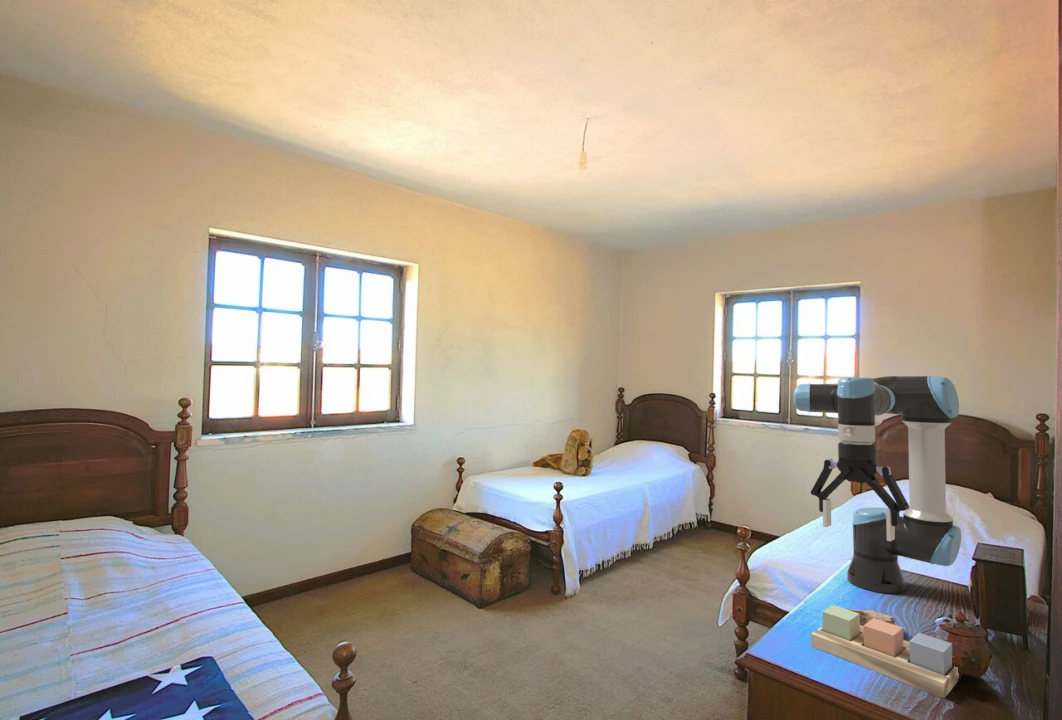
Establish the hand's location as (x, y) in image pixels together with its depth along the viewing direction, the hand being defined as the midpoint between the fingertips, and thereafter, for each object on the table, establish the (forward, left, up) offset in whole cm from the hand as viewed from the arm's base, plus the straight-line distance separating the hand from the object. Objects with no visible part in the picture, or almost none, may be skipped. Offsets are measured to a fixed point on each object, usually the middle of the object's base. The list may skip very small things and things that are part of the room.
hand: (857, 532), depth 125 cm
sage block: (-1, -4, -25) cm, 26 cm away
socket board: (-1, +5, -28) cm, 28 cm away
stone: (-15, -2, -28) cm, 32 cm away
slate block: (-1, +14, -25) cm, 29 cm away
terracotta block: (-1, +5, -25) cm, 26 cm away
